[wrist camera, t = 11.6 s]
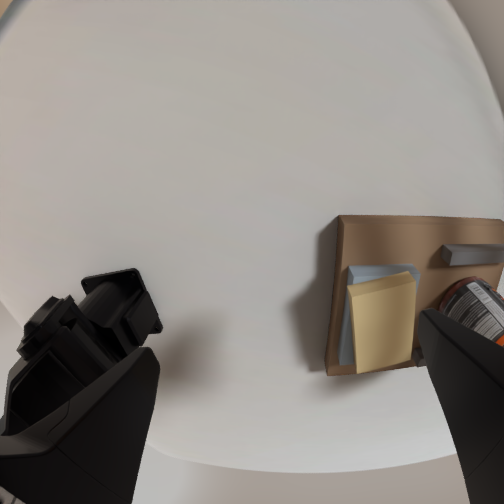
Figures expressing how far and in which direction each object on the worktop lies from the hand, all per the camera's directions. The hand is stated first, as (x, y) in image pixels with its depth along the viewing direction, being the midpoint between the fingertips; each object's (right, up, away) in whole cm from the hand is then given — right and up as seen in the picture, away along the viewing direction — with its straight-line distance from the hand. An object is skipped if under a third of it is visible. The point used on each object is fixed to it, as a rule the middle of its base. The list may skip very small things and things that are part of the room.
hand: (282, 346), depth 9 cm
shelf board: (+13, -1, +14) cm, 19 cm away
